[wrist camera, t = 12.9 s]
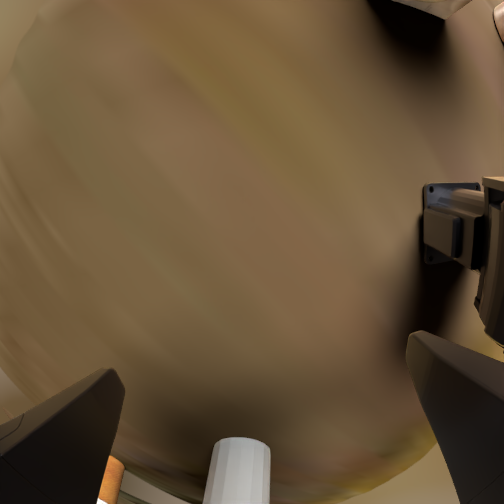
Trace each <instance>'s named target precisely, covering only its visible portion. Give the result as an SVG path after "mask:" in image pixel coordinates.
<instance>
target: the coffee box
mask: <svg viewBox="0 0 504 504" xmlns="http://www.w3.org/2000/svg"><path fill="white" fill-rule="evenodd" d="M392 1H396V2H399V3H402V4H405V5H408V6H411V7H414V8H417V9H420V10H422V11H425V12H428V13H430V14H433V15H435V16H438V17H440V18H442V19H447V18H448V17H450V16H451V15H452V14H454V13H455V12H456V11H458V10H459V9H461V8H462V7H463V6H465V5H466V4H468V3H469V2H470V1H472V0H392Z"/></svg>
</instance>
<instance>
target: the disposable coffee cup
mask: <svg viewBox="0 0 504 504" xmlns="http://www.w3.org/2000/svg"><path fill="white" fill-rule="evenodd" d="M124 469H125V467H124V465H123V464H122V463H121V462H120V461H118V460H117V459H115V458H114V457H112V456H109V459H108V463H107V466H106V470H105V473H104V477H103V481H102V485H101V489H100V493H99V497H98V501H97V504H117V500H118V495H119V491H120V486H121V482H122V478H123V473H124Z"/></svg>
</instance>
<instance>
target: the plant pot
mask: <svg viewBox="0 0 504 504" xmlns="http://www.w3.org/2000/svg"><path fill="white" fill-rule="evenodd" d="M494 20H495V23H496V27H497V29H498V32H499V34H500V36H501V39H502V41H503V42H504V2H502V3H501V4H499V5H498V6H496V7H495V9H494Z"/></svg>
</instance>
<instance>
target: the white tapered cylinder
mask: <svg viewBox="0 0 504 504" xmlns="http://www.w3.org/2000/svg"><path fill="white" fill-rule="evenodd" d="M269 503H270V448H269V447H268V446H267V445H266V444H264V443H263V442H260V441H258V440H255V439H250V438H244V437H230V438H226V439H221V440H220V441H218V442H216V443H215V445H214V448H213V452H212V458H211V463H210V468H209V473H208V479H207V484H206V489H205V494H204V499H203V504H269Z"/></svg>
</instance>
